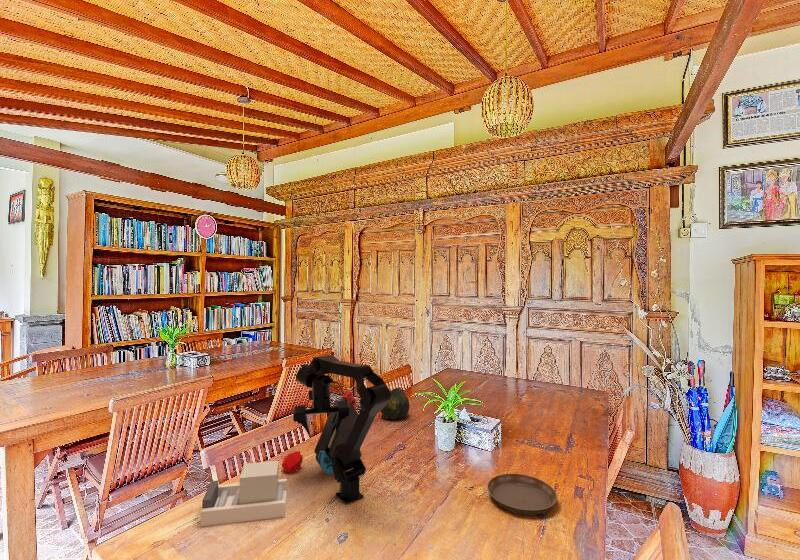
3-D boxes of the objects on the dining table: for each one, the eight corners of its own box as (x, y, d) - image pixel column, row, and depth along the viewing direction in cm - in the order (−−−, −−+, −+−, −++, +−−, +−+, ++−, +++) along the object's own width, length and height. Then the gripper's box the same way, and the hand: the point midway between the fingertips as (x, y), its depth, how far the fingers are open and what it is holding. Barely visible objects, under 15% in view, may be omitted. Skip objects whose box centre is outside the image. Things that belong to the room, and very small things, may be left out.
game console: (337, 481, 141) (323, 462, 132) (321, 477, 143) (306, 459, 134) (363, 408, 160) (352, 388, 151) (349, 406, 162) (337, 386, 153)
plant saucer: (550, 528, 112) (551, 516, 112) (478, 506, 122) (478, 495, 122) (561, 494, 130) (561, 483, 130) (497, 477, 140) (497, 468, 140)
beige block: (278, 486, 125) (278, 460, 125) (276, 502, 116) (276, 474, 116) (243, 490, 123) (244, 463, 123) (239, 506, 114) (239, 478, 114)
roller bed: (286, 491, 129) (287, 478, 129) (284, 516, 115) (285, 502, 115) (211, 498, 124) (212, 485, 124) (200, 526, 110) (200, 511, 110)
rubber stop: (218, 496, 123) (218, 480, 122) (209, 517, 112) (210, 499, 112) (210, 497, 122) (211, 481, 122) (202, 518, 112) (202, 500, 112)
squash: (369, 408, 195) (390, 386, 192) (380, 400, 209) (400, 380, 206) (389, 431, 191) (411, 409, 188) (399, 421, 205) (419, 401, 202)
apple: (286, 461, 137) (303, 446, 144) (274, 460, 141) (291, 444, 148) (294, 478, 139) (310, 462, 145) (282, 476, 143) (298, 460, 149)
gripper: (347, 378, 146) (348, 416, 150) (293, 383, 142) (295, 422, 146) (349, 393, 135) (350, 434, 139) (291, 399, 131) (294, 441, 135)
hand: (322, 432), depth 140 cm, fingers open, 9 cm apart
